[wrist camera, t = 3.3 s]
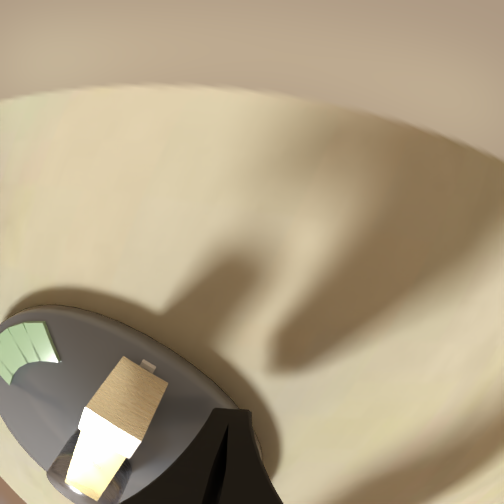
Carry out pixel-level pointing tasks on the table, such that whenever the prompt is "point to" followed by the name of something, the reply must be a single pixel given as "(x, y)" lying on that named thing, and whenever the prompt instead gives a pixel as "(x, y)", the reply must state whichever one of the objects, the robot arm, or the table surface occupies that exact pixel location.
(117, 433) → the peg lever
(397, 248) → the table surface
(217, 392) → the dial plate
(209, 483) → the robot arm
